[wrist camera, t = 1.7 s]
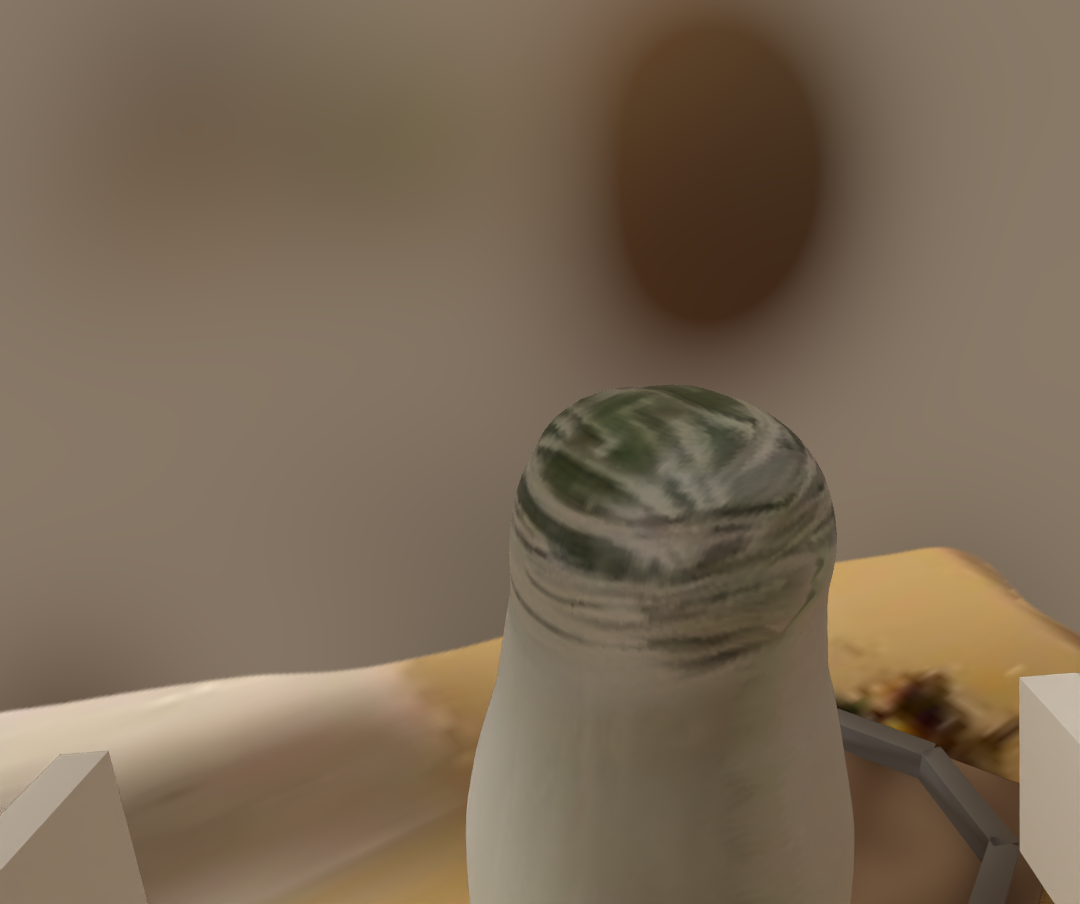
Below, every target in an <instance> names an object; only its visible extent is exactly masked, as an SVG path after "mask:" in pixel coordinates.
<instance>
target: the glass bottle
mask: <svg viewBox="0 0 1080 904" xmlns="http://www.w3.org/2000/svg"><path fill="white" fill-rule="evenodd" d="M836 544H837V532H836V522H835V514H834V509H833V504H832V500H831V495H830V491H829V489H828V486H827V483H826V480H825V477H824V475H823V473H822V471H821V469H820V467H819V465H818V464H817V462H816V460H815V458H814V457H813V455H812V453H811V452H810V451H809V450H808V448H807V447H806V446H805V445H804V444H803V442H802V441H801V440H800V439H799V438H798V437H797V436H796V435H795V434H794V433H793V432H792V431H791V430H790V429H789V428H788V427H786V426H785V425H784V424H782V423H781V422H780V421H778V420H777V419H776V418H774V417H773V416H772V415H770V414H769V413H767V412H765V411H764V410H762V409H760V408H758V407H756V406H755V405H752V404H751V403H748V402H745V401H743V400H740V399H736V398H733V397H729V396H725V395H723V394H719V393H716V392H713V391H710V390H707V389H703V388H699V387H694V386H685V385H663V386H644V387H624V388H623V387H622V388H617V389H611V390H606V391H601V392H599V393H596V394H594V395H591V396H589V397H586V398H583V399H581V400H579V401H578V402H576V403H575V404H573V405H572V406H571V407H569V408H567V409H565V410H564V411H563V412H562V413H560V414H559V415H558V416H557V417H555V418H554V419H553V421H552V422H551V423H550V424H549V426H548V427H547V428H546V429H545V431H544V432H543V434H542V436H541V438H540V440H539V442H538V444H537V446H536V448H535V450H534V452H533V453H532V456H531V458H530V459H529V461H528V463H527V465H526V467H525V469H524V471H523V474H522V477H521V480H520V483H519V486H518V489H517V492H516V496H515V500H514V506H513V513H512V520H511V531H510V575H511V592H510V598H509V604H508V610H507V616H506V623H505V629H504V636H503V642H502V648H501V654H500V660H499V668H498V674H497V680H496V684H495V687H494V691H493V694H492V697H491V701H490V704H489V707H488V710H487V714H486V717H485V720H484V723H483V726H482V729H481V733H480V737H479V741H478V745H477V749H476V754H475V759H474V764H473V770H472V775H471V781H470V788H469V794H468V801H467V813H466V853H467V870H468V885H469V895H470V904H850V902H851V894H852V882H853V870H854V842H855V840H854V818H853V808H852V801H851V794H850V787H849V780H848V774H847V767H846V761H845V755H844V747H843V741H842V734H841V728H840V722H839V716H838V711H837V706H836V701H835V696H834V691H833V686H832V681H831V677H830V673H829V668H828V637H827V604H828V592H829V586H830V582H831V578H832V574H833V569H834V563H835V558H836Z"/></svg>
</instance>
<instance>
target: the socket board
mask: <svg viewBox="0 0 1080 904" xmlns="http://www.w3.org/2000/svg"><path fill="white" fill-rule="evenodd" d="M837 711H838V716H839V722H840V728H841V734H842V741H843V747H844V755H845V761H846V767H847V774H848V780H849V787H850V794H851V801H852V808H853V818H854V840H855V842H854V870H853V882H852V894H851V902H850V904H1039V900H1040V896H1041V892H1042V888H1043V885H1042V884H1041V882H1040V881H1039V879H1038V878H1037V876H1036V875H1035V873H1034V872H1033V870H1032V869H1031V867H1030V866H1029V864H1028V863H1027V861H1026V860H1025V858H1024V857H1023V855H1022V854H1021V852H1020V784H1019V783H1016V782H1013V781H1011V780H1008V779H1005V778H1002V777H1000V776H997V775H994V774H991V773H989V772H986V771H983V770H980V769H978V768H975V767H972V766H969V765H967V764H964V763H961V762H958V761H956V760H953V759H950V758H949V756H948V755H947V754H946V753H945V751H944V750H943V749H942V748H941V747H936V748H935V745H936V744H935V743H933V742H930V741H927V740H924V739H921V738H919V737H916V736H913V735H910V734H908V733H905V732H902V731H899V730H896V729H894V728H891V727H888V726H885V725H882V724H880V723H877V722H874V721H871V720H868V719H866V718H863V717H860V716H857V715H855V714H852V713H849V712H846V711H843V710H841V709H838V708H837Z"/></svg>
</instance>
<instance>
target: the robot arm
mask: <svg viewBox="0 0 1080 904" xmlns="http://www.w3.org/2000/svg"><path fill="white" fill-rule="evenodd" d="M1019 742H1020V852H1021V854H1022V855H1023V857H1024V858H1025V860H1026V861H1027V863H1028V864H1029V866H1030V867H1031V869H1032V870H1033V872H1034V873H1035V875H1036V876H1037V878H1038V879H1039V881H1040V882H1041V884H1042V885H1043V887H1044V889H1045V890H1046V892H1047V893H1048V895H1049V896H1050V898H1051V899H1052V901H1053V902H1054V904H1080V675H1079V674H1078V673H1065V674H1053V675H1041V676H1028V677H1019ZM0 904H148V901H147V898H146V894H145V890H144V886H143V882H142V878H141V874H140V871H139V867H138V863H137V859H136V855H135V851H134V847H133V844H132V840H131V836H130V832H129V828H128V824H127V820H126V817H125V813H124V809H123V805H122V801H121V797H120V793H119V790H118V786H117V782H116V778H115V774H114V770H113V766H112V763H111V759H110V755H109V751H100V752H88V753H75V754H63V755H59V756H58V757H57V758H56V759H55V760H54V761H53V762H52V763H51V764H50V765H49V766H48V767H47V768H46V769H45V770H44V771H43V772H42V773H41V774H40V775H39V776H38V777H37V778H36V779H35V780H34V781H33V782H32V783H31V784H30V785H29V786H28V787H27V789H26V790H25V791H24V792H23V793H22V794H21V795H20V796H19V797H18V798H17V799H16V800H15V801H14V802H13V803H12V804H11V805H10V806H9V807H8V808H7V809H6V810H5V811H4V812H3V813H2V814H1V815H0Z"/></svg>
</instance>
